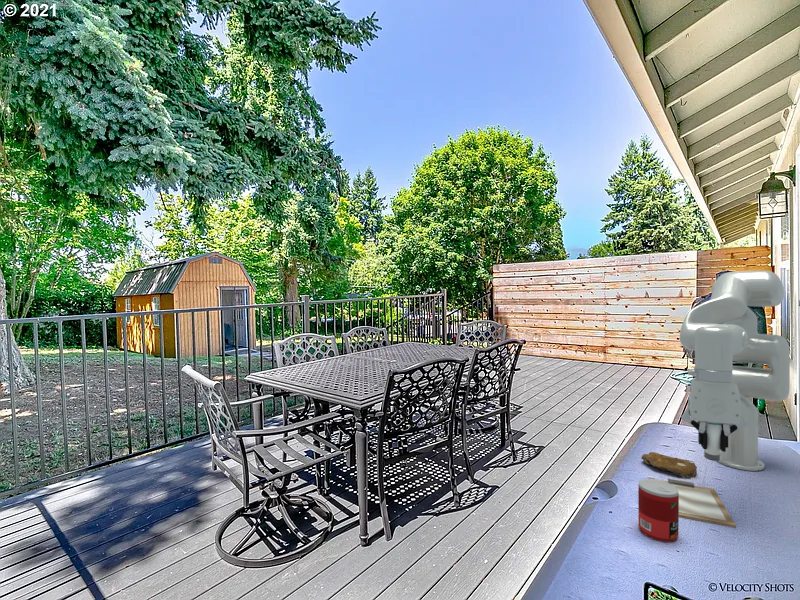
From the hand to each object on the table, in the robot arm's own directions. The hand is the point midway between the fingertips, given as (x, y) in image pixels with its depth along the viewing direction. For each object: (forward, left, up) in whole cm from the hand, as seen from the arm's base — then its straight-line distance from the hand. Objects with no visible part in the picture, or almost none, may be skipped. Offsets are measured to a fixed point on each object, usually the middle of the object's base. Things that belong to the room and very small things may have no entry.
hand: (713, 447), depth 104 cm
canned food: (+15, -14, -17) cm, 26 cm away
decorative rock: (-27, -6, -18) cm, 33 cm away
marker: (-1, 0, -3) cm, 3 cm away
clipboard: (-5, -4, -17) cm, 18 cm away
